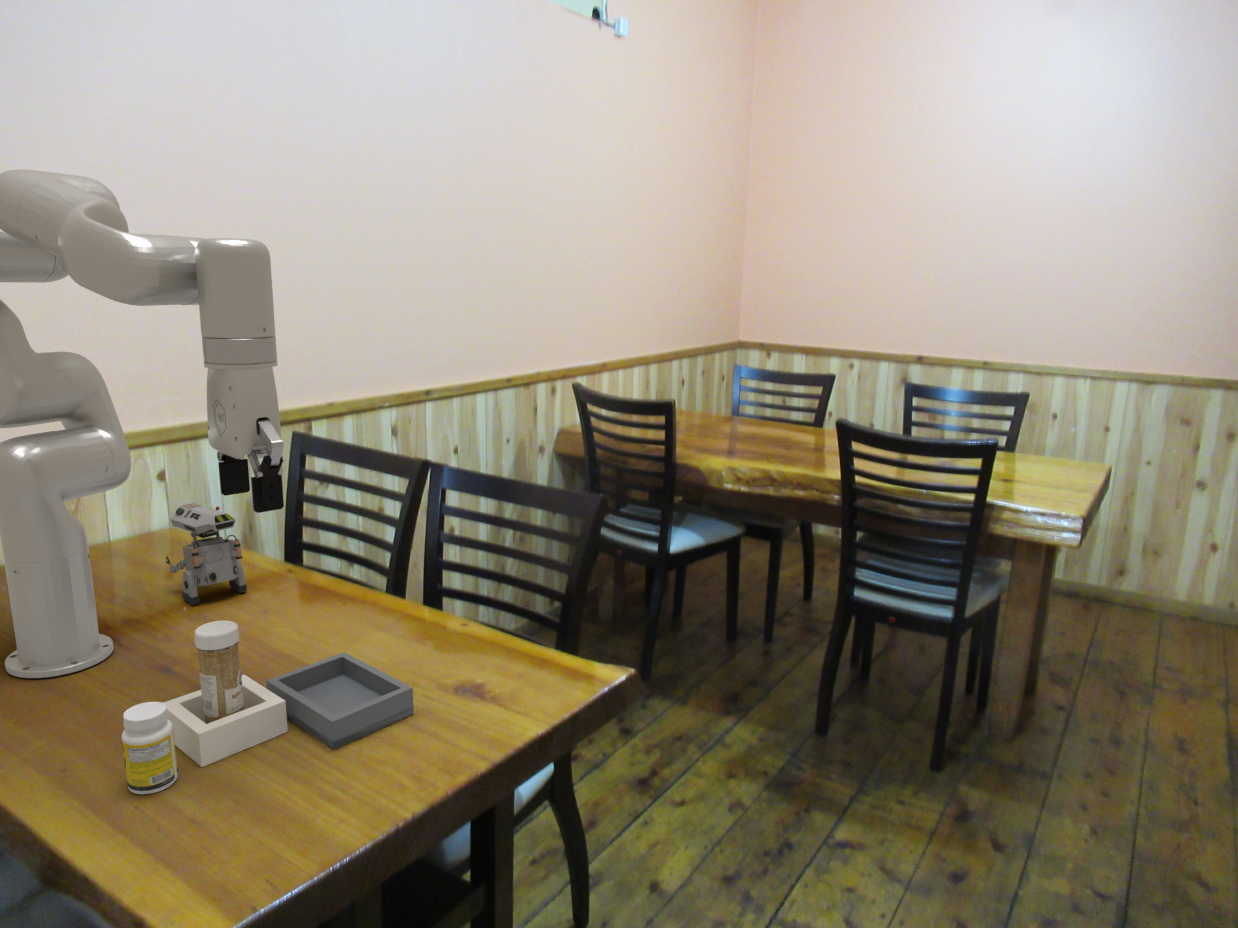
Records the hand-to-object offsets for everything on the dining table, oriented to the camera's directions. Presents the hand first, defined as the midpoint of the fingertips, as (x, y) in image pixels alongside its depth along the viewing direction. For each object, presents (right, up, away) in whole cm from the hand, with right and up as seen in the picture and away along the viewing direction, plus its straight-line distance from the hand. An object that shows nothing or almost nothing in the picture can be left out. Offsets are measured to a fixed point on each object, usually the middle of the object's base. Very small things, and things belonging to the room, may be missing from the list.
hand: (251, 501), depth 98 cm
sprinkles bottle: (-4, -28, +2) cm, 28 cm away
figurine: (-27, -18, +45) cm, 55 cm away
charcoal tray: (+8, -26, +8) cm, 28 cm away
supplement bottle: (-7, -30, -8) cm, 32 cm away
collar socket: (-4, -27, +2) cm, 28 cm away
